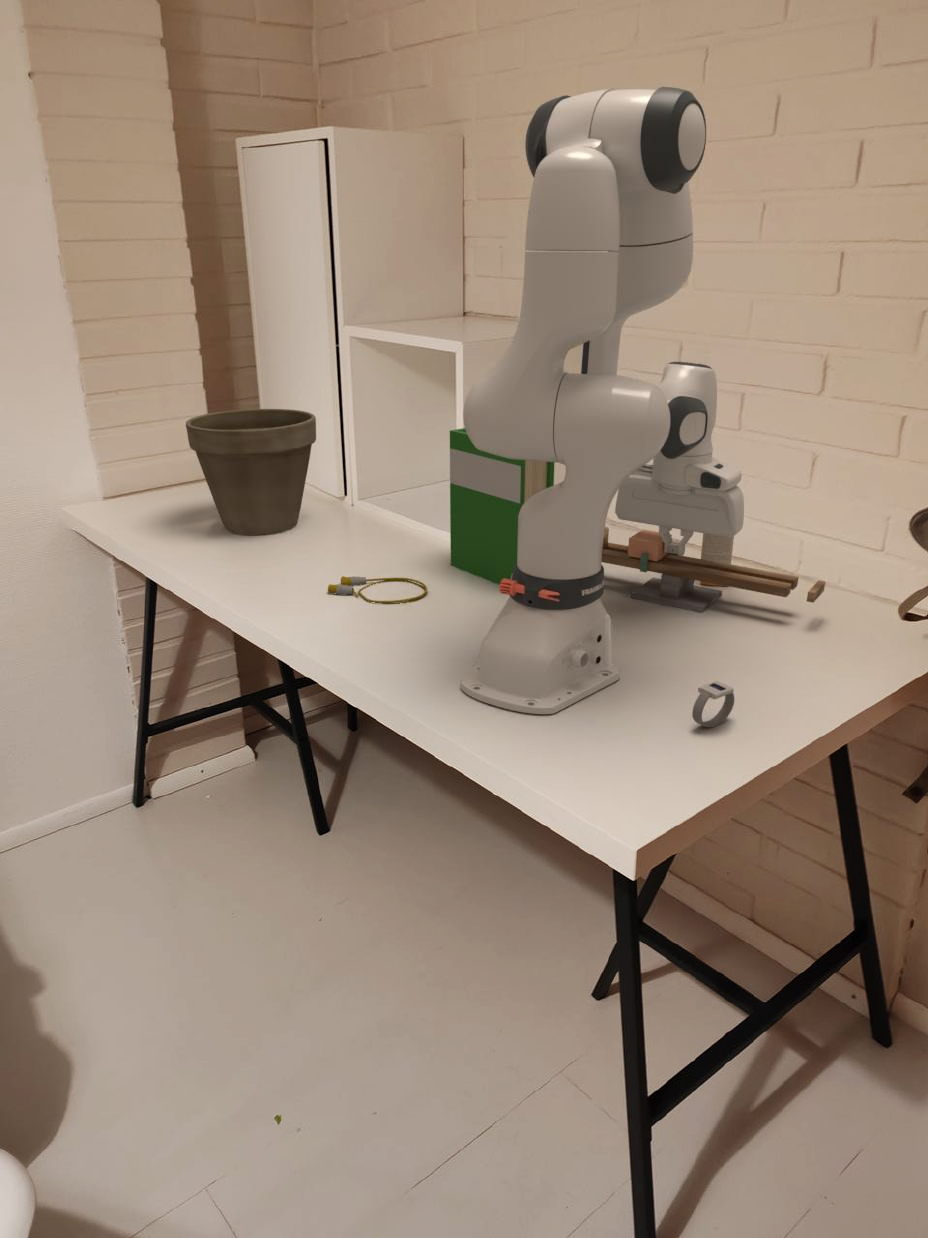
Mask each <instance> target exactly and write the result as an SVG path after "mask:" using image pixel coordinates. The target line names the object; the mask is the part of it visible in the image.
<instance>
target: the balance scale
mask: <svg viewBox="0 0 928 1238" xmlns="http://www.w3.org/2000/svg"><path fill="white" fill-rule="evenodd" d="M609 530H610V529H609V527H607V526H605V530H604V538H603V547H602V561H601V563H605V564H608V565H609V564H610V565H615V566H621V567H626V568H630V569H635V570H636V569H637V570H639V572H641V573H647V572H652V573H656V574H657V573H658V574H661V575H660V578H657V577H652V578H650V579H649V580H646V582H644V583H643V584H641V586H639V587H638V588H636V589H634V590H633V591H632V592H631V593H630V598H631V599H634V600H635V599H636V600H640V601H644V602H650V603H655V604H659V605H664V606H669V607H675V608H678V609H679V608H680V609H684V610H688V611H693V612H697V613H704V611H705V610H707V609H708V608H709V607H710V606H711V605H713V604H714V603H715V602H716V601H717V600H719V598H720V597H722V595H723V590H720V589H715V588H711V587H705V586H701V585H699V586H698V585H694V584H695V581H699V582H701V581H703V582H708V583H713V584H718V585H724V586H723V587H731V588H736V589H740V590H745V591H751V592H754V593H755V592H756V593H761V594H765V595H766V594H767V595H772V596H777V597H782V598H787V597H788V596H789V595H790V594H791V590H792V591H794V590H795V589H796V588H797V587H798V584H799V576H798V575H797V576H796V575H792V574H785V573H780V572H775V571H770V570H769V571H768V570H763V569H758V568H752V567H748V566H747V567H746V566H742V565H737V564H736V565H735V564H732V563H731V564H725V563H720V562H714V561H709V560H703V559H701V558H697V557H690V556H685V555H683V556H676V555H671V554H667V555H666V556H664V557H663V558H662V560H658V561H652V560H648V553H641V558H636V557H630V556H628V546H629V545H624V544H617V543H613V542H609V533H610V531H609ZM825 587H826V581H825V580H817V581H816V583H815V584H813V586H811V588H810V589H809V590H808V591H807V596H806V602H809V603H813V604H814V603H815V602H816V600H818V599H819V597H820V596H821V595H822V594H823V593H824V592H825Z"/></svg>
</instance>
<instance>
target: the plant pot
mask: <svg viewBox="0 0 928 1238" xmlns="http://www.w3.org/2000/svg"><path fill="white" fill-rule="evenodd" d="M316 420H317V419H316V416H315V414H313V413H312V412H309V411H303V410H296V409H289V408H288V409H287V408H252V409H251V408H250V409H249V408H247V409H235V410H233V409H232V410H225V411H224V410H223V411H217V412H211V413H210V412H209V413H205V414H201V415H196V416H194V417H192V418H190V419H188V420H186V422H185V428H186V434H187V440H188V444H189V448H190V449H191V450H192V451H195V454H196V456H197V459H198V462H199V465H200V468H201V471H202V473H203V475H204V479H205V481H206V483H207V484H206V485H207V486H208V489H209V492H210V494H211V497H212V499H213V503H214V505H215V507H216V510H217V512H218V516H219V518H220V520H221V522H222V525H223V527H224V528H225V530H227V531H228V532H230V533H234V534H238V535H246V536H247V535H251V536H253V535H254V536H255V535H256V536H258V535H268V534H269V535H270V534H275V533H281V532H285V531H288V530H289V529H292V528H294V527H295V526H296V525H297V524H298V521H299V517H300V513H301V509H302V503H303V502H302V501H303V497H304V490H305V487H306V482H307V481H306V480H307V474H308V470H309V464H310V458H311V454H312V453H311V450H312V447H313V446H312V445H313V444H314V443H316V440H317V421H316Z"/></svg>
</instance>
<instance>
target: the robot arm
mask: <svg viewBox="0 0 928 1238" xmlns="http://www.w3.org/2000/svg"><path fill="white" fill-rule="evenodd" d="M706 142H707V122H706V115H705V113H704V110H703V107H702V105H701V103H700V102H699V101H698V100H697V98H696V96H695V95H694V94H693V93H692V92H691V91H689V90H686V89H683V88H677V87H670V86H669V87H668V86H661V87H659V88H657V89H652V88H651V89H650V88H645V89H644V88H630V89H629V88H627V89H626V88H625V89H618V88H605V89H598V90H593V91H588V92H585V93H581V94H577V95H573V96H570V95H567V94H566V95H562V96H559V97H555V98H553V99H550V100H549V101H546V102H544V103H542V104H541V105H540V106H539V107H538V108H537V109H536V110H535V112H534V114H533V116H532V118H531V119H530V122H529V124H528V126H527V130H526V136H525V143H524V144H525V148H524V149H525V156H526V161H527V165H528V168H529V171H530V173H531V175H532V177H533V181H532V187H531V191H530V196H529V202H528V203H529V204H528V210H527V219H526V227H525V228H526V230H525V242H524V243H525V244H524V267H523V268H524V271H523V287H522V295H521V297H522V298H521V306H520V312H519V313H520V314H519V319H518V323H517V327H516V331H515V332H514V336H513V338H512V340H511V342H510V344H509V346H508V348H507V349H506V351H505V352H504V353H503V355H502V357H501V358H500V359H499V360H498V361H497V363H496V364H494V366H493V367H492V368H491V369H489V370H488V371H487V372H486V373H484V374H483V375H481V376H480V377H479V378H478V379H477V380H476V381H475V382H474V384H473V385H472V386H471V388H470V389H469V391H468V393H467V395H466V398H465V401H464V406H463V417H462V418H463V424H464V428H465V429H466V432H467V435H468V437H469V439H470V440H471V442H472V443H473V445H474V446H475V447H476V448H477V449H478V450H481V451H484V452H487V453H490V454H494V455H497V456H501V457H505V458H508V459H516V460H530V461H544V462H554V463H558V464H561V465H564V466H565V474H564V479H563V480H562V481H561V482H559V483H557V484H555V485H554V486H551V487H549V488H546V489H544V490H542V491H540V492H538V493H536V494H534V495H532V496H531V497H530V498H528V499H527V500H526V501H525V503H524V504H523V505H522V507H521V509H520V512H519V515H518V547H517V563H516V564H515V566H514V570H513V573H512V575H511V580H509V579H506V578H503V579H502V580H501V582H502V583H500V585H499V587H498V588H499V592H500V593H501V594H503V595H508V596H509V597H508V599H507V601H506V602H505V604H504V606H503V607H502V609H501V610H500V612H499V614H498V615H497V617H496V618H495V620H494V622H493V624H492V625H491V627H490V629H489V630H488V632H487V634H486V636H484V639H483V640H482V641H481V647H480V651H479V661H478V662H477V663H476V664H475V665H474V666H473V667H472V669H471V670H469V672H468V673H467V674H466V675H465V676H464V677H463V678H462V680H461V681H460V689H461V691H462V692H463V693H464V694H466V695H468V696H469V697H471V698H473V699H475V700H478V701H480V702H482V703H486V704H489V705H491V706H494V707H499V708H502V709H506V710H509V711H514V712H520V713H525V714H531V715H532V714H533V715H534V714H535V715H552V714H555V713H557V712H559V711H562V710H563V709H565V708H567V707H569V706H571V705H572V704H575V703H577V702H579V701H580V700H582V699H584V698H586V697H588V696H590V695H593V694H594V693H596V692H597V691H599V690H601V689H603V688H605V687H607V686H609V685H612V684H613V683H614V682H616V681H618V680H620V677H621V676H620V670H619V669H618V667H617V666H615V665H614V664H613V661H612V620H611V617H610V614H609V613H608V612H607V610H606V608H605V606H604V603H603V601H602V597H603V595H604V590H605V589H604V587H605V586H604V585H605V583H606V582H605V579H606V577H605V567H604V566H603V565H602V562H601V561H602V547H603V538H604V530H605V527H606V522H607V516H608V513H609V509H610V508H611V504H612V502H613V500H614V498H615V496H616V494H617V496H616V502H615V508H614V509H615V510H614V513H615V515H616V516H617V518H618V519H619V520H622V521H626V522H627V521H629V522H632V523H640V524H645V525H646V524H647V525H651V526H658V532H659V534H660V536H661V538H662V540H663V542H664V543H665V546H664V553H665V554H671V555H676V556H685V552H686V544H687V543H688V542H689V541H690V539H691V538H692V537H693V535H694V533H699V534H703V533H705V534H711V535H717V536H723V537H729V538H730V537H733V536H734V537H735V536H736V535H738V534H739V533H740V532H741V531H742V529H743V526H744V516H745V501H744V500H745V499H744V494H743V490H741V488H740V487H739V486H738V485H739V483H740V482H741V480H742V475H743V474H742V471H741V470H740V469H739V468H736V467H734V466H732V465H730V464H728V463H725V462H723V461H721V460H719V459H717V458H715V457H714V456H713V452H714V451H713V450H714V449H713V448H714V447H713V442H712V433H713V431H714V428H715V425H716V421H717V408H718V407H717V405H718V403H717V402H718V386H717V385H718V384H717V383H718V382H717V375H716V371H715V369H713V367H711V366H709V365H707V364H702V363H695V362H686V361H685V362H684V361H670V362H668V363H666V364H665V365H664V368H663V372H662V376H661V380H660V384H659V385H656V384H654V383H651V382H647V381H644V380H640V379H637V378H632V377H628V376H623V375H618V373H617V372H618V364H619V363H618V362H619V355H620V346H621V345H620V342H621V333H622V328H623V326H624V324H625V322H626V321H627V320H628V319H629V318H630V317H632V316H634V315H636V314H639V313H641V312H643V311H646V310H647V311H648V310H649V309H651V308H653V307H657V306H658V305H660V304H663V303H664V302H665V301H667V300H669V299H670V298H672V297H673V296H674V295H675V294H677V293H678V292H679V291H680V290H681V289H682V288H683V286H684V285H685V283H686V282H687V281H688V278H689V276H690V274H691V271H692V267H693V262H694V261H693V259H694V227H693V209H692V208H693V207H692V200H691V198H692V197H691V191H690V185H689V181H690V180H691V179H692V178H693V176H694V175H695V173H696V172H697V170H698V169H699V167H700V165H701V163H702V160H703V158H704V154H705V151H706V150H705V149H706V144H707V143H706ZM581 345H582V356H581V369H580V373H574V372H573V373H571V372H570V373H569V372H567V371H565V370H564V365H565V360H566V358H567V355H568V353H569V351H570V350H572V349H575V348H576V347H579V346H581ZM651 461H652V464H648V463H649V462H651ZM673 529H675V530H680V532H679V533H680V536H681V537H682V539H681V540H680V541H674V540H673V539H672V538H673V537H671V535H672V534H671V533H670V531H672V530H673ZM670 534H671V535H670Z"/></svg>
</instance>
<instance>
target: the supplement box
mask: <svg viewBox="0 0 928 1238" xmlns="http://www.w3.org/2000/svg"><path fill="white" fill-rule="evenodd" d="M734 539H735V536H733V537H730V538H729V537H723V536H717V535H711V534H705V533H702V542H701V552H700V559H703V560H709V561H714V562H720V563H725V564H731V565H732V558H733V548H734ZM700 585H704V586H714V587H715V586H718V587H720V586H721V587H725V586H724V585H718V584H713V583H708V582H703V581H700Z"/></svg>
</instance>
